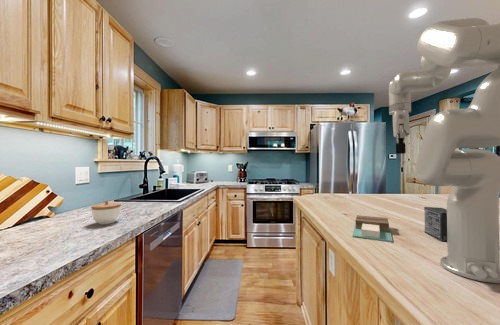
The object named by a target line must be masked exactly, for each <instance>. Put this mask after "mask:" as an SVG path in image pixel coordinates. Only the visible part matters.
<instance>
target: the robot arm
mask: <svg viewBox="0 0 500 325" xmlns="http://www.w3.org/2000/svg"><path fill="white" fill-rule="evenodd" d="M416 50H417V53H418V55H419V56H420V57H421V58H420V66H421V68H422V70H421V69H420V70H412V71H411V70H410V71H409V70H408V71H402V72H399V73H397V74H396V75H395V76H394V78H393V80H391V81H390V82H389V84H388V114H389V116H392V131H393V137H394V138H395V142H396V144H395V154H399V155H400V154H404V155H405V154H406V153H407V152H406V150H407V149H406V137H408V136H409V135H410V134H411V130H410V115H409V113H412V95H411V94H412V92H413V93H414V92H428V91H431V90H434V89H436V88H438V87H439V86H440V85H442V84H443V83H445V82H446V81H447V79H448V78H449V77H450V74H451V72H452V69H465V68H477V67H478V68H479V67H488V66H496V67H497V68H496V69H495V70H493V71H491V73H490V74H488V75H487V76H486V77H485V78H484V79H483V80H482V81H481V82H480V83H479V85H478V86H477V88H476V89H475V91H474V94H473V98H472V99H471V102H470V104H469V106H468V107H467V108H453V109H452V108H451V109H446V110H445V109H444V110H441V111H439V112H437V113H436V114H435V115H433V116H432V117H431V118H430V120H428V121H429V122H428V123H427V124H426V127H425V130H424V134H423V138H422V140H421V143H420V144H421V145H420V147H419V152H418V155H417V158H416V162H415V176H416V178H417V179H418V181H419V182H420V183H422V184H424V185H427V186H431V187H453V189H452V190H451V192H450V193H449V195H448V196H447V201H446V209H447V241H446V243H447V255H446V256H442V257H441V258H440V259H439V260H440V265H441V266H442V267H443V268H444V269H446V270H447V271H449V272H451V273H453V274H456V275H458V276H460V277H464V278H466V279H471V280H474V281H477V282H478V281H479V282H484V283H491V284H500V220H499V219H500V216H499V214H500V156H499V155H498V154H496V152H492V151H489V150H485V149H483V148H494V147H499V146H500V23H493V24H492V23H491V24H490V23H489V22H487V20H484V19H483V18H480V17H479V18H478V17H469V18H468V17H467V18H459V19H448V20H441V21H436V22H433V23H432V24H430V25H429V26H428V27H426V28H425V29H424V31H423V32H422V33H421V34H420V36H419V38H418V42H417V45H416ZM480 148H481V149H480Z"/></svg>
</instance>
